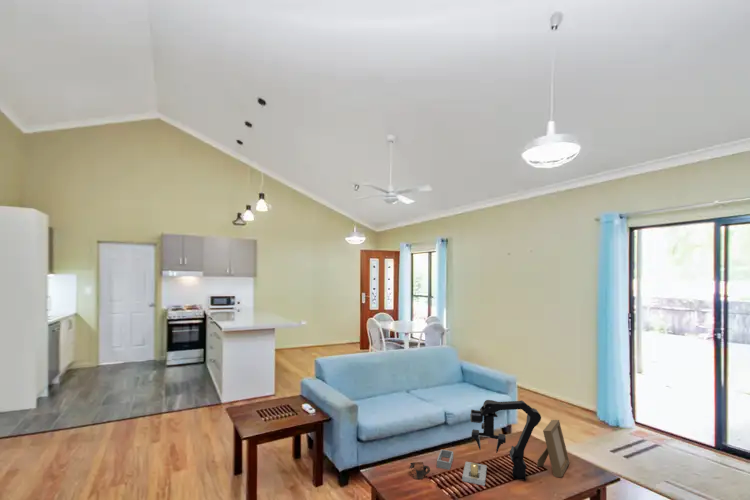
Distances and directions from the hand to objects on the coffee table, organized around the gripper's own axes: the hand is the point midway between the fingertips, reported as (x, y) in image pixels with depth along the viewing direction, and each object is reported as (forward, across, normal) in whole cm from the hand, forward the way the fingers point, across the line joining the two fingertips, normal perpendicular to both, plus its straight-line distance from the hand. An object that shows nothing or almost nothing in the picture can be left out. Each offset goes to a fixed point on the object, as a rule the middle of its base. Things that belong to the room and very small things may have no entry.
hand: (488, 451), depth 220 cm
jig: (+12, +7, +5) cm, 15 cm away
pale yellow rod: (+12, +7, +10) cm, 17 cm away
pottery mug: (+13, +36, +17) cm, 42 cm away
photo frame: (+13, -36, -23) cm, 45 cm away
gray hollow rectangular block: (+12, +25, -3) cm, 28 cm away
